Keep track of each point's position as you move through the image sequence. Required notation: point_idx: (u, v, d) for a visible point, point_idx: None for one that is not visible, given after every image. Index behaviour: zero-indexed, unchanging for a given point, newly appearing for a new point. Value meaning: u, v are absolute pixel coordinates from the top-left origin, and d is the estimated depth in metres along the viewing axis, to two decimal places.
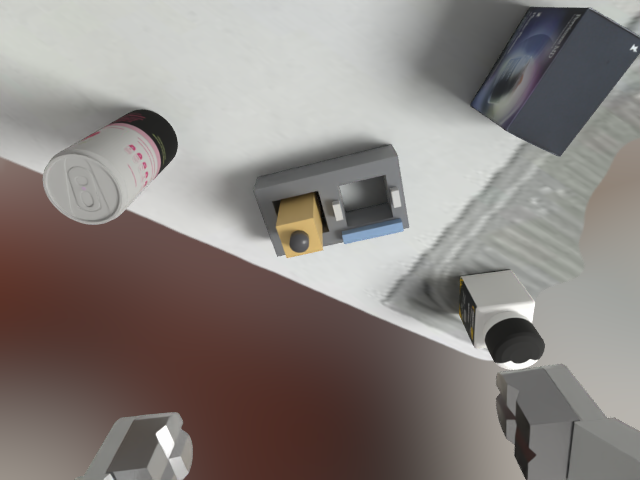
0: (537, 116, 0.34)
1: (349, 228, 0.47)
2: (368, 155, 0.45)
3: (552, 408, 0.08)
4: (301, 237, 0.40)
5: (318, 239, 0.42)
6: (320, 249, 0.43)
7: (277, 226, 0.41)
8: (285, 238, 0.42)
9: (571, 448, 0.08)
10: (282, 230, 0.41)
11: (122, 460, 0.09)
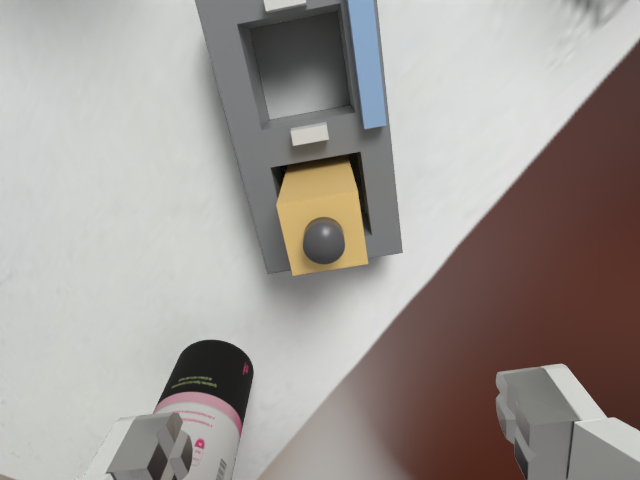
0: None
1: (358, 110, 0.22)
2: None
3: (552, 408, 0.08)
4: (306, 240, 0.19)
5: (329, 198, 0.19)
6: (355, 195, 0.19)
7: (293, 272, 0.21)
8: None
9: (571, 447, 0.08)
10: (302, 265, 0.21)
11: (122, 461, 0.09)
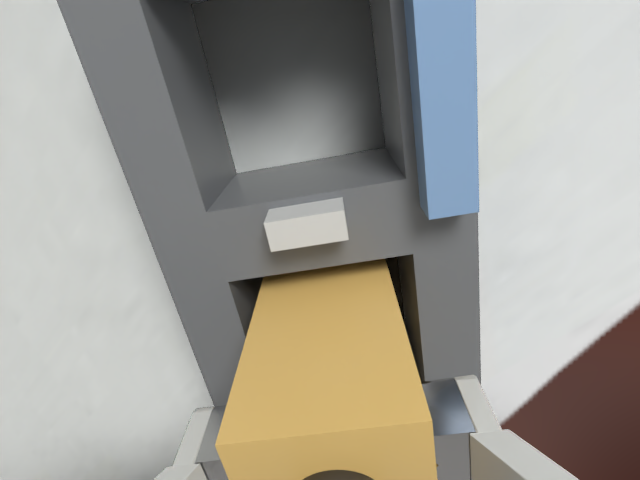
0: None
1: (414, 173, 0.10)
2: None
3: (453, 419, 0.08)
4: None
5: (354, 433, 0.07)
6: (424, 430, 0.07)
7: None
8: None
9: (470, 458, 0.08)
10: None
11: (210, 451, 0.09)
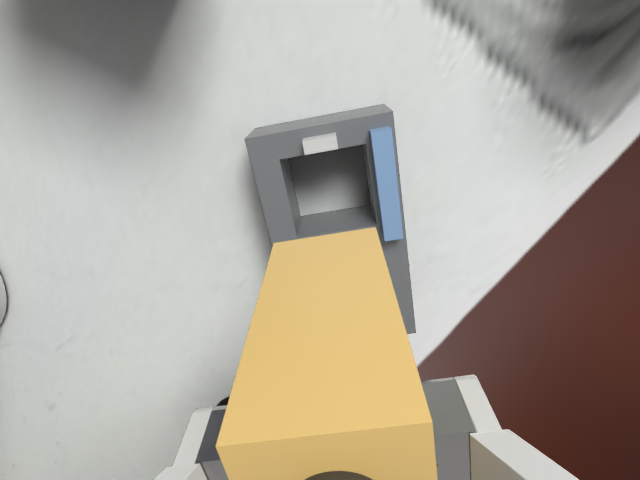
0: None
1: (379, 222, 0.26)
2: None
3: (453, 419, 0.08)
4: None
5: (355, 434, 0.07)
6: (424, 431, 0.07)
7: None
8: None
9: (470, 458, 0.08)
10: None
11: (209, 451, 0.09)
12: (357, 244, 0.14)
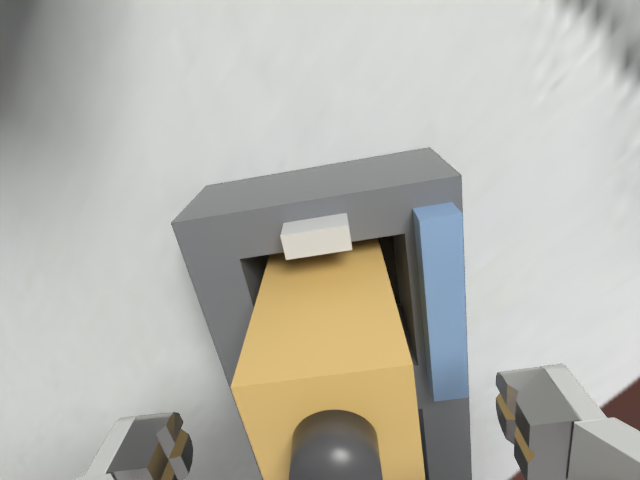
0: None
1: (423, 362, 0.15)
2: None
3: (552, 408, 0.08)
4: None
5: (348, 376, 0.09)
6: (406, 372, 0.09)
7: None
8: None
9: (571, 447, 0.08)
10: None
11: (122, 460, 0.09)
12: None
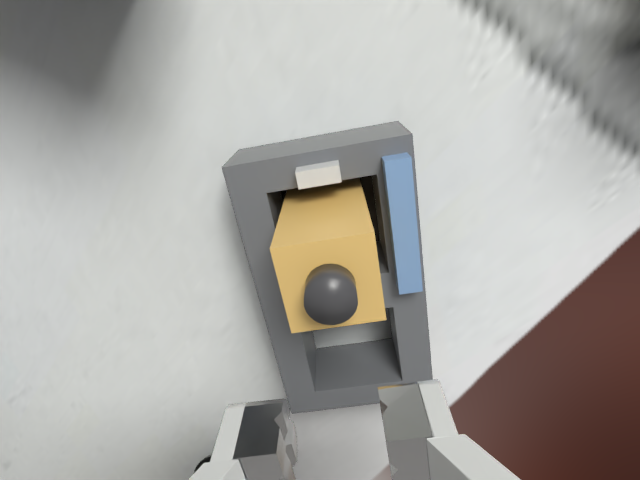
0: None
1: (392, 270, 0.21)
2: None
3: (412, 424, 0.08)
4: (308, 296, 0.15)
5: (337, 240, 0.15)
6: (371, 237, 0.15)
7: (292, 329, 0.17)
8: None
9: (429, 462, 0.08)
10: (303, 321, 0.17)
11: (247, 446, 0.09)
12: None
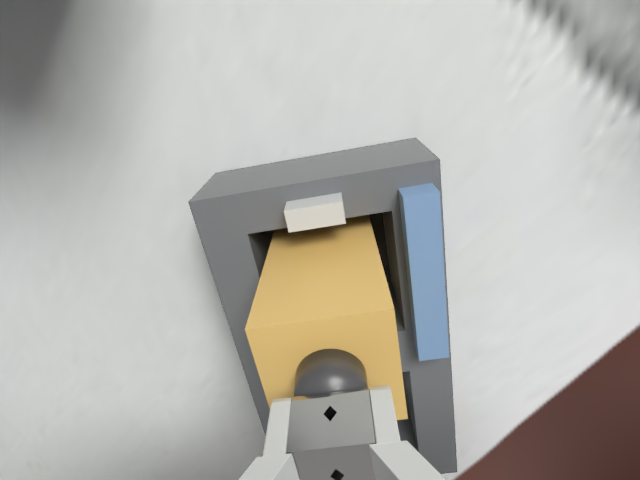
0: None
1: (410, 327, 0.17)
2: None
3: (357, 430, 0.09)
4: None
5: (341, 319, 0.11)
6: (389, 315, 0.10)
7: None
8: None
9: (374, 468, 0.08)
10: None
11: (299, 440, 0.09)
12: None
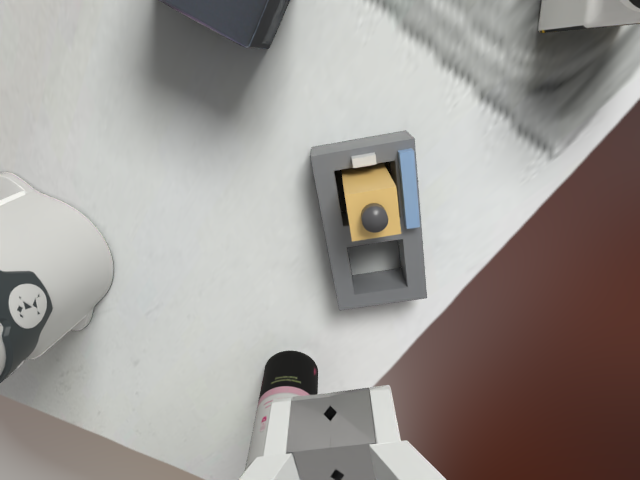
0: (226, 4, 0.25)
1: (403, 215, 0.37)
2: None
3: (357, 430, 0.09)
4: (364, 217, 0.30)
5: (378, 191, 0.31)
6: (394, 189, 0.31)
7: (352, 239, 0.33)
8: (370, 232, 0.32)
9: (374, 468, 0.08)
10: (358, 234, 0.32)
11: (299, 441, 0.09)
12: None
